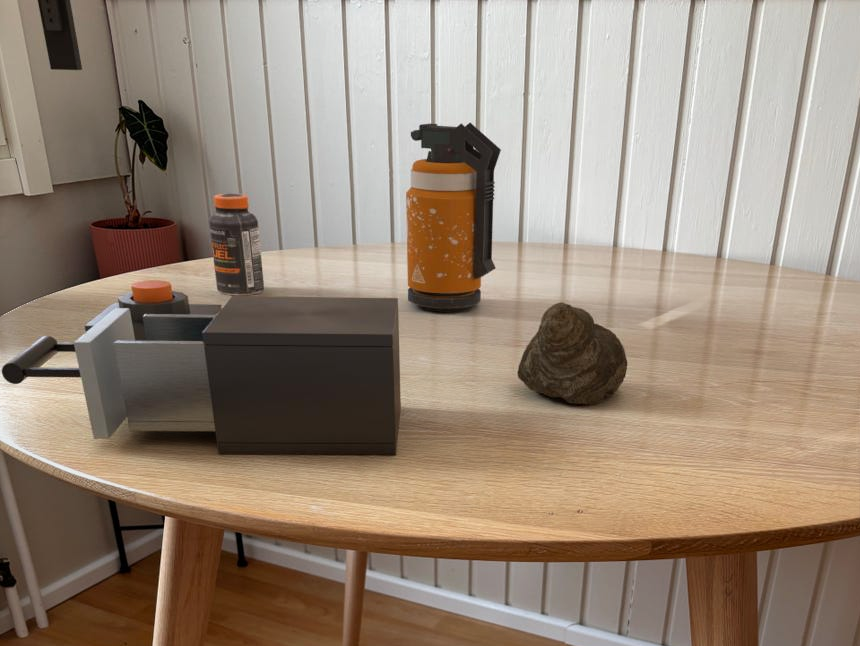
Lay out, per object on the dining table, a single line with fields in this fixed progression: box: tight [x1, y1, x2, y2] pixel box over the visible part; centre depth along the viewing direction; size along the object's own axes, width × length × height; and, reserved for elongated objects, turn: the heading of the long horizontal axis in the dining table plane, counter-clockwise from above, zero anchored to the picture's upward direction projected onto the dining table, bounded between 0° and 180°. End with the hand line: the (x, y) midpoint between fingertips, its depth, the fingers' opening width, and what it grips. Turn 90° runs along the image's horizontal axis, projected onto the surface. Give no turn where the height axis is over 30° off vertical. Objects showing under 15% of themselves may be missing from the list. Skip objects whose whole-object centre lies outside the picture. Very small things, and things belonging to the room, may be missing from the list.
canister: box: [405, 122, 502, 313], centre depth 110 cm, size 9×11×20 cm
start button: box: [130, 279, 173, 302], centre depth 99 cm, size 4×4×2 cm
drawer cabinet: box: [202, 295, 402, 456], centre depth 76 cm, size 14×12×9 cm
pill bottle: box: [208, 193, 265, 296], centre depth 117 cm, size 6×6×11 cm
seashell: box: [517, 302, 628, 406], centre depth 85 cm, size 11×12×10 cm
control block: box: [84, 290, 223, 341], centre depth 101 cm, size 12×10×4 cm
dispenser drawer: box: [1, 308, 216, 440], centre depth 75 cm, size 19×11×7 cm, turn 92°
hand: (66, 69), depth 97 cm, fingers closed
